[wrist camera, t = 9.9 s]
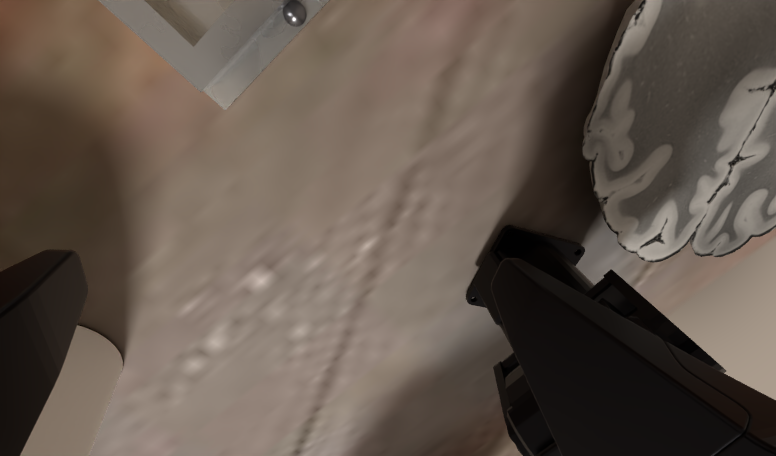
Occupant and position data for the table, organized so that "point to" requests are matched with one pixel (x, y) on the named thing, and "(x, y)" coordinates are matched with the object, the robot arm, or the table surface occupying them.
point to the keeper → (217, 37)
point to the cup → (77, 398)
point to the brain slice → (687, 127)
